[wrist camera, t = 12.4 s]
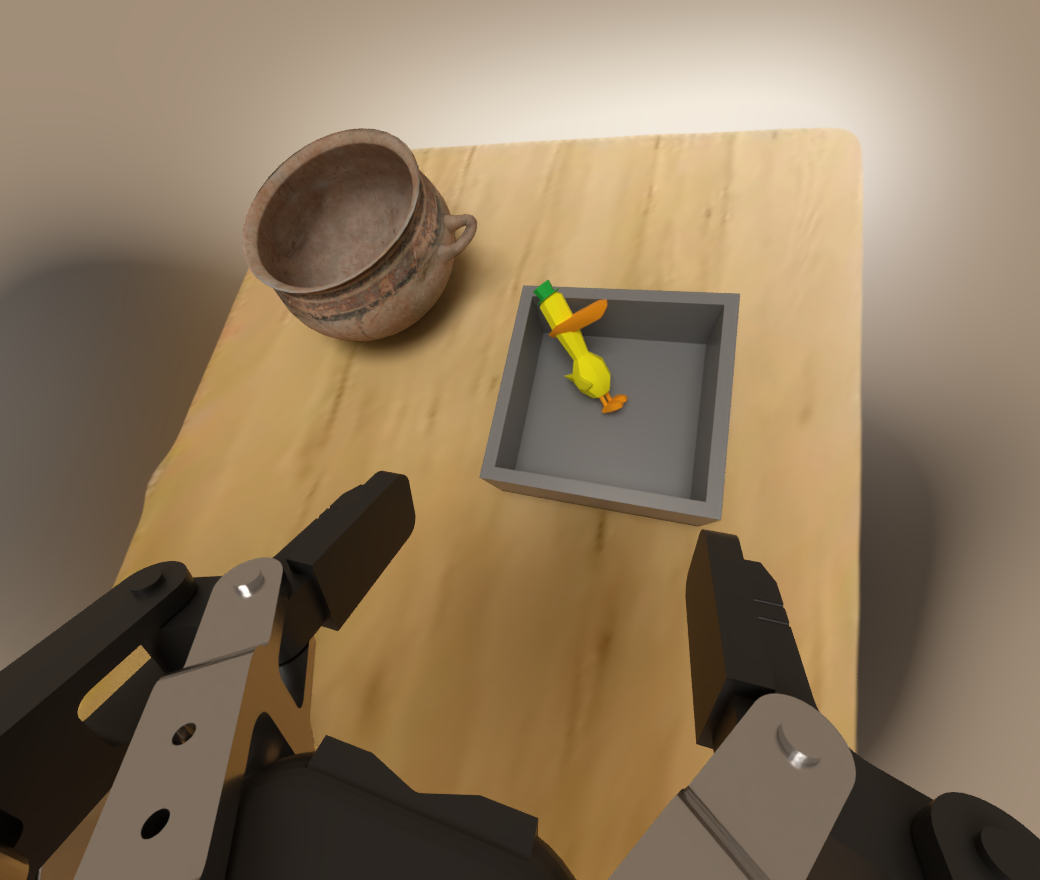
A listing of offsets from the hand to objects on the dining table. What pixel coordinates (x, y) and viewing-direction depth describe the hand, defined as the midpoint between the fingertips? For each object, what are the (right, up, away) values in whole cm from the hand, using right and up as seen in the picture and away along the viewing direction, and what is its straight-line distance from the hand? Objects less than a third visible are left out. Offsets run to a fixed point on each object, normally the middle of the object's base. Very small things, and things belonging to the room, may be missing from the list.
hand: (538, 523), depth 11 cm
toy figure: (+8, +5, +24) cm, 26 cm away
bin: (+8, +4, +26) cm, 27 cm away
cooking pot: (-15, +19, +35) cm, 43 cm away
